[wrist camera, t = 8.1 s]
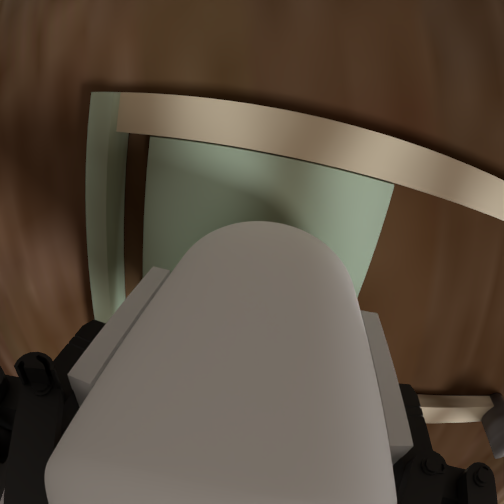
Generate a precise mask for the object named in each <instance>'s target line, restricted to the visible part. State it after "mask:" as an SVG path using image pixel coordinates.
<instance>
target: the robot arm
mask: <svg viewBox="0 0 504 504" xmlns="http://www.w3.org/2000/svg"><path fill="white" fill-rule="evenodd" d="M169 275H170V270H167V269H162V268H158V267H154V266H153V267H152V268H151V269H150V271H149V272H148V273H147V274H146V275H145V276H144V278H143V279H142V280H141V281H140V282H139V284H138V285H137V286H136V287H135V288H134V290H133V291H132V292H131V293H130V295H129V296H128V297H127V298H126V299H125V301H124V302H123V303H122V304H121V306H120V307H119V308H118V309H117V311H116V312H115V313H114V314H113V316H112V317H111V318H110V319H109V321H108V322H107V323H103V322H100V321H97V320H92V321H90V322H89V323H87V324H85V325H83V326H82V327H81V328H80V330H79V331H78V332H77V333H76V334H75V337H73V338H72V339H71V340H70V341H69V344H67V345H66V346H65V348H64V349H63V350H62V351H61V352H60V354H59V355H58V356H57V357H56V359H55V360H54V361H52V359H51V358H50V357H49V356H47V355H46V354H44V353H40V352H30V353H28V354H25V355H23V356H22V357H20V358H19V359H18V360H17V362H16V363H15V365H14V367H15V369H16V372H17V374H18V376H19V377H14V376H9V375H5V374H4V371H3V370H2V368H1V366H0V500H1V497H2V494H3V491H4V488H5V493H4V504H49V503H48V499H47V494H46V489H45V482H44V475H45V468H46V465H47V462H48V460H49V458H50V456H51V455H52V453H53V451H54V450H55V448H56V446H57V444H58V443H59V441H60V439H61V438H62V436H63V434H64V433H65V431H66V429H67V428H68V426H69V424H70V423H71V421H72V420H73V418H74V416H75V415H76V413H77V411H78V410H79V408H80V407H81V405H82V403H83V402H84V400H85V399H86V397H87V396H88V394H89V392H90V391H91V389H92V388H93V386H94V385H95V383H96V381H97V380H98V378H99V377H100V375H101V374H102V372H103V371H104V369H105V368H106V366H107V365H108V363H109V362H110V360H111V359H112V357H113V356H114V354H115V353H116V351H117V350H118V348H119V347H120V345H121V344H122V342H123V341H124V339H125V338H126V336H127V335H128V333H129V332H130V330H131V329H132V327H133V326H134V325H135V323H136V322H137V320H138V319H139V317H140V316H141V314H142V313H143V312H144V310H145V309H146V307H147V306H148V304H149V303H150V302H151V300H152V299H153V297H154V296H155V295H156V293H157V292H158V290H159V289H160V288H161V286H162V285H163V283H164V282H165V281H166V279H167V278H168V276H169ZM361 315H362V319H363V323H364V327H365V331H366V335H367V339H368V343H369V347H370V351H371V355H372V360H373V364H374V369H375V373H376V378H377V382H378V387H379V392H380V397H381V402H382V407H383V412H384V417H385V423H386V428H387V434H388V440H389V446H390V452H391V459H392V466H393V473H394V480H395V488H396V496H397V504H497V494H496V486H495V478H494V475H493V472H492V470H491V469H490V468H489V466H487V465H486V464H484V463H480V462H477V463H473V464H472V465H471V466H469V467H468V468H467V469H466V470H465V469H461V468H457V467H453V466H449V465H447V464H446V462H445V460H444V458H443V457H442V456H441V455H440V454H438V453H436V452H435V451H433V449H432V446H431V442H430V438H429V434H428V430H427V426H426V423H425V419H424V417H423V412H422V408H420V407H421V405H420V402H419V398H418V395H417V394H416V392H415V391H414V389H413V388H412V387H411V385H409V384H398V380H397V376H396V373H395V369H394V366H393V362H392V359H391V355H390V352H389V348H388V345H387V342H386V339H385V335H384V332H383V329H382V326H381V323H380V320H379V317H378V314H377V313H372V312H367V311H361Z"/></svg>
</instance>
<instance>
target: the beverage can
mask: <svg viewBox="0 0 504 504" xmlns="http://www.w3.org/2000/svg"><path fill="white" fill-rule="evenodd" d="M44 482H45V489H46V494H47V499H48V503H49V504H397V496H396V488H395V480H394V473H393V466H392V459H391V452H390V446H389V440H388V434H387V428H386V423H385V417H384V412H383V407H382V402H381V397H380V392H379V387H378V382H377V378H376V373H375V369H374V364H373V360H372V355H371V351H370V347H369V343H368V339H367V335H366V331H365V327H364V323H363V319H362V315H361V311H360V308H359V304H358V300H357V297H356V293H355V289H354V286H353V283H352V280H351V277H350V275H349V273H348V271H347V269H346V267H345V266H344V264H343V262H342V261H341V260H340V258H339V257H338V256H337V255H336V254H335V253H334V252H333V251H332V250H331V249H330V248H329V247H328V246H327V245H326V244H325V243H323V242H322V241H320V240H319V239H318V238H316V237H314V236H313V235H311V234H309V233H307V232H305V231H303V230H301V229H298V228H295V227H292V226H289V225H286V224H281V223H276V222H268V221H248V222H240V223H235V224H231V225H228V226H224V227H222V228H219V229H217V230H215V231H213V232H211V233H209V234H207V235H205V236H204V237H202V238H201V239H200V240H198V241H197V242H196V243H195V244H194V245H193V246H192V247H191V248H190V249H189V250H188V251H187V252H186V253H185V255H184V256H183V257H182V259H181V260H180V261H179V263H178V264H177V265H176V267H175V268H174V270H173V271H172V272H171V274H170V275H169V276H168V278H167V279H166V281H165V282H164V283H163V285H162V286H161V288H160V289H159V290H158V292H157V293H156V295H155V296H154V297H153V299H152V300H151V302H150V303H149V304H148V306H147V307H146V309H145V310H144V312H143V313H142V314H141V316H140V317H139V319H138V320H137V322H136V323H135V325H134V326H133V327H132V329H131V330H130V332H129V333H128V335H127V336H126V338H125V339H124V341H123V342H122V344H121V345H120V347H119V348H118V350H117V351H116V353H115V354H114V356H113V357H112V359H111V360H110V362H109V363H108V365H107V366H106V368H105V369H104V371H103V372H102V374H101V375H100V377H99V378H98V380H97V381H96V383H95V385H94V386H93V388H92V389H91V391H90V392H89V394H88V396H87V397H86V399H85V400H84V402H83V403H82V405H81V407H80V408H79V410H78V411H77V413H76V415H75V416H74V418H73V420H72V421H71V423H70V424H69V426H68V428H67V429H66V431H65V433H64V434H63V436H62V438H61V439H60V441H59V443H58V444H57V446H56V448H55V450H54V451H53V453H52V455H51V456H50V458H49V460H48V462H47V465H46V468H45V475H44Z"/></svg>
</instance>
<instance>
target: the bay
mask: <svg viewBox="0 0 504 504" xmlns="http://www.w3.org/2000/svg"><path fill="white" fill-rule="evenodd" d="M129 133H136V134H146V135H156V136H151V137H150V142H149V152H148V163H147V176H146V190H145V207H144V231H143V278H144V276H145V275H146V274H147V273H148V272H149V271H150V269H151V268H152V267H153V266H154V267H158V268H162V269H167V270H170V274H171V272H172V271H173V270H174V268H175V267H176V265H177V264H178V263H179V261H180V260H181V259H182V257H183V256H184V255H185V253H186V252H187V251H188V250H189V249H190V248H191V247H192V246H193V245H194V244H195V243H196V242H197V241H198V240H200V239H201V238H202V237H204V236H205V235H207V234H209V233H211V232H213V231H215V230H217V229H219V228H222V227H224V226H228V225H231V224H235V223H240V222H248V221H268V222H276V223H281V224H286V225H289V226H292V227H295V228H298V229H301V230H303V231H305V232H307V233H309V234H311V235H313V236H314V237H316V238H318V239H319V240H320V241H322V242H323V243H325V244H326V245H327V246H328V247H329V248H330V249H331V250H332V251H333V252H334V253H335V254H336V255H337V256H338V257H339V258H340V260H341V261H342V262H343V264H344V266H345V267H346V269H347V271H348V273H349V275H350V277H351V280H352V283H353V286H354V289H355V293H356V297H358V294H359V292H360V289H361V286H362V284H363V281H364V278H365V275H366V273H367V270H368V267H369V264H370V261H371V259H372V256H373V253H374V250H375V247H376V244H377V241H378V238H379V235H380V232H381V228H382V225H383V222H384V219H385V216H386V212H387V209H388V206H389V202H390V199H391V195H392V192H393V188H394V184H393V183H396V184H400V185H403V186H406V187H410V188H413V189H416V190H419V191H422V192H425V193H429V194H432V195H435V196H438V197H441V198H444V199H447V200H450V201H452V202H455V203H458V204H461V205H464V206H467V207H469V208H472V209H475V210H477V211H480V212H483V213H485V214H488V215H491V216H493V217H496V218H498V219H501V220H503V221H504V180H502V179H500V178H497V177H495V176H493V175H491V174H489V173H486V172H484V171H482V170H480V169H477V168H475V167H473V166H470V165H468V164H466V163H463V162H461V161H458V160H456V159H453V158H451V157H448V156H446V155H443V154H440V153H438V152H435V151H432V150H429V149H427V148H424V147H421V146H418V145H415V144H412V143H409V142H406V141H403V140H400V139H397V138H394V137H391V136H388V135H384V134H381V133H378V132H374V131H371V130H367V129H364V128H360V127H357V126H353V125H349V124H345V123H342V122H338V121H334V120H329V119H325V118H321V117H317V116H312V115H308V114H303V113H298V112H293V111H288V110H283V109H278V108H272V107H267V106H261V105H255V104H249V103H242V102H235V101H228V100H220V99H212V98H203V97H193V96H182V95H170V94H154V93H131V92H91V100H90V110H89V120H88V134H87V151H86V233H87V251H88V264H89V276H90V285H91V294H92V303H93V310H94V318H95V320H97V321H100V322H103V323H107V322H108V321H109V319H110V318H111V317H112V316H113V314H114V313H115V312H116V311H117V309H118V308H119V307H120V306H121V304H122V303H123V302H124V301H125V277H124V198H125V176H126V160H127V147H128V136H129ZM157 136H165V137H157ZM166 137H173V138H166ZM174 138H181V139H174ZM182 139H189V140H196V141H189V140H182ZM197 141H203V142H197ZM204 142H210V143H216V144H210V143H204ZM217 144H223V145H229V146H235V147H241V148H247V149H252V150H258V151H263V152H268V153H273V154H268V153H263V152H258V151H252V150H247V149H241V148H235V147H229V146H223V145H217ZM274 154H278V155H274ZM279 155H283V156H279ZM284 156H288V157H293V158H298V159H302V160H307V161H311V162H316V163H320V164H324V165H329V166H333V167H337V168H341V169H345V170H349V171H353V172H357V173H360V174H357V173H353V172H349V171H345V170H341V169H337V168H333V167H329V166H324V165H320V164H316V163H311V162H307V161H302V160H298V159H293V158H288V157H284ZM361 174H364V175H368V176H372V177H375V178H379V179H382V180H386V181H389V182H386V181H382V180H379V179H375V178H372V177H368V176H364V175H361ZM390 182H393V183H390ZM417 395H418V398H419V402H420V405H421V407H420V408H422V412H423V417H424V419H425V423H457V422H476V421H482V424H483V426H484V429H485V432H486V435H487V437H488V440H489V443H490V446H491V449H492V451H493V454H494V457H495V458H501V457H504V397H503V395H501V394H500V393H494V394H492V395H490V396H445V395H421V394H417Z"/></svg>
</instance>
